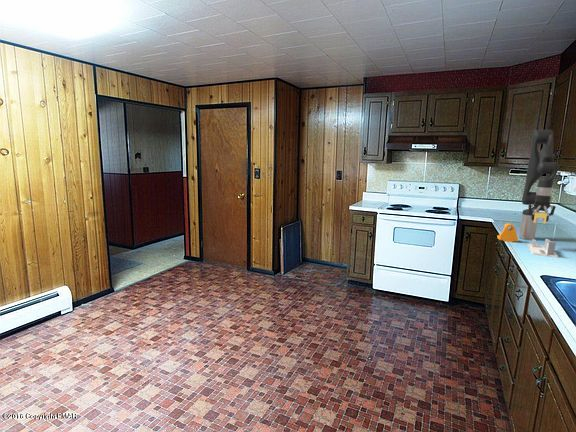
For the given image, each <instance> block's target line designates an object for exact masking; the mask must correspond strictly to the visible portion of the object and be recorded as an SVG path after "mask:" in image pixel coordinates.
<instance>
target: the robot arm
mask: <svg viewBox="0 0 576 432" xmlns="http://www.w3.org/2000/svg"><path fill="white" fill-rule="evenodd" d="M530 145H531V146H530V154H529V160H528V166H527V171H526V179H525V185H524V189H523V194H522V197H521V203H522V204H523V205H525V206H527V205H528V206H527V207H528V208H527V209H523V210H522V214H521V221H520V228H519V233H518V239H522V240H527V241H532V239H535V238H536V232H537V225H538V221H539V220H538V219H539V218H537V219H536V223H534V222H533V221H534V217H535V213H536V212H545V213H547V219H546V223H548V222H549V219H550V216H554V213H555V210H556V205H551V198H552V195H553V193H552V191H553V190H552V189H553V183H554V180H555V177H556V176H557V173H558V171H559V169H560V165H559V163H558V162H554V160H555V157H554V151H553V150H554V131H553V130H552V129H535V130H533V133H532V137H531V144H530ZM538 145H544V146H543V147H542V148H541V149H540V151H539V149H538ZM544 174H545V175H546V174H547V175H548V176H544V177H543V175H544ZM537 181H538V183H537V184H538V185H537V188H536V191H530V190H531V188H532V187H533V185H534V184H535V183H536V182H537ZM549 208H550V210H551V211H550V212H549V211H548V210H549ZM535 240H536V239H535Z"/></svg>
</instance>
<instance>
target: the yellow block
mask: <svg viewBox="0 0 576 432" xmlns="http://www.w3.org/2000/svg"><path fill="white" fill-rule="evenodd" d="M537 218H538V219H542V223H543V224H545V225H546V223H547V222H546V219H547V213H545V211H539V212H536V213H535V217H534V221H533V222H534V223H536V219H537Z"/></svg>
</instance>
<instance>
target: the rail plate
mask: <svg viewBox="0 0 576 432" xmlns="http://www.w3.org/2000/svg"><path fill="white" fill-rule="evenodd" d="M556 243H557V242H553V241H551V240H550V239H548V238H545V240H544V244H543V245H542V244H541V245H540V244H537V240H536V239H532V240H531V243H527V247H528V249H529V251H530V252H531V254H532V255H535V254H536V255H535V256H545V257H550V258H551V257H553V258H558V257H559V256H558V254H557V253H556V252H555V250H556Z"/></svg>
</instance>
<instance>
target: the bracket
mask: <svg viewBox="0 0 576 432" xmlns="http://www.w3.org/2000/svg"><path fill="white" fill-rule="evenodd" d="M509 227H510V228H509ZM508 228H509V229H508ZM497 239H498V240H499V241H502V242H507V243H514V242H518V241H519V236H518V234H517V231H516V227H515V226H514V225H513V224H511V223H509V222H508V223H505V224H504V226H503V230H502V231H501V233H500V234H497Z"/></svg>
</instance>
